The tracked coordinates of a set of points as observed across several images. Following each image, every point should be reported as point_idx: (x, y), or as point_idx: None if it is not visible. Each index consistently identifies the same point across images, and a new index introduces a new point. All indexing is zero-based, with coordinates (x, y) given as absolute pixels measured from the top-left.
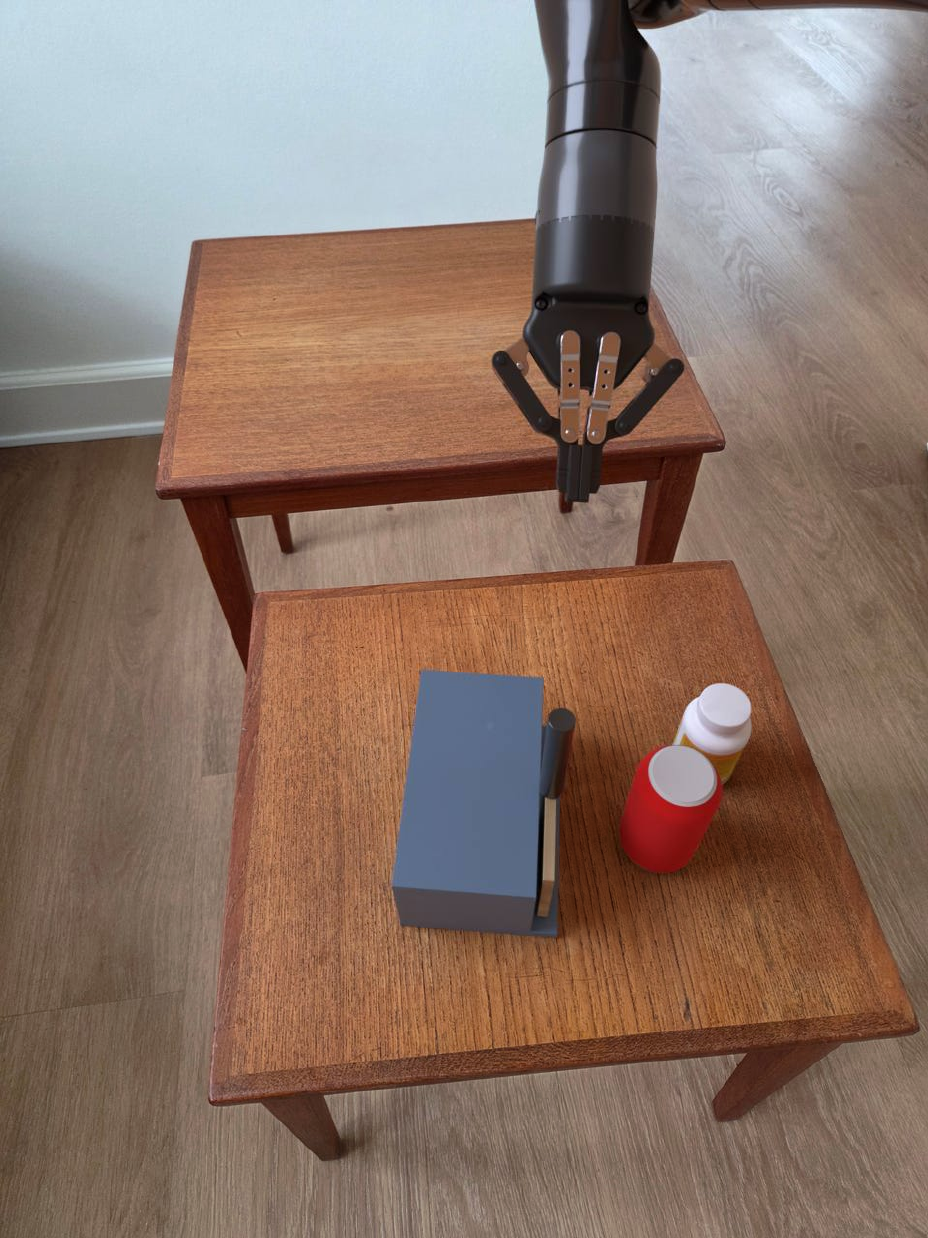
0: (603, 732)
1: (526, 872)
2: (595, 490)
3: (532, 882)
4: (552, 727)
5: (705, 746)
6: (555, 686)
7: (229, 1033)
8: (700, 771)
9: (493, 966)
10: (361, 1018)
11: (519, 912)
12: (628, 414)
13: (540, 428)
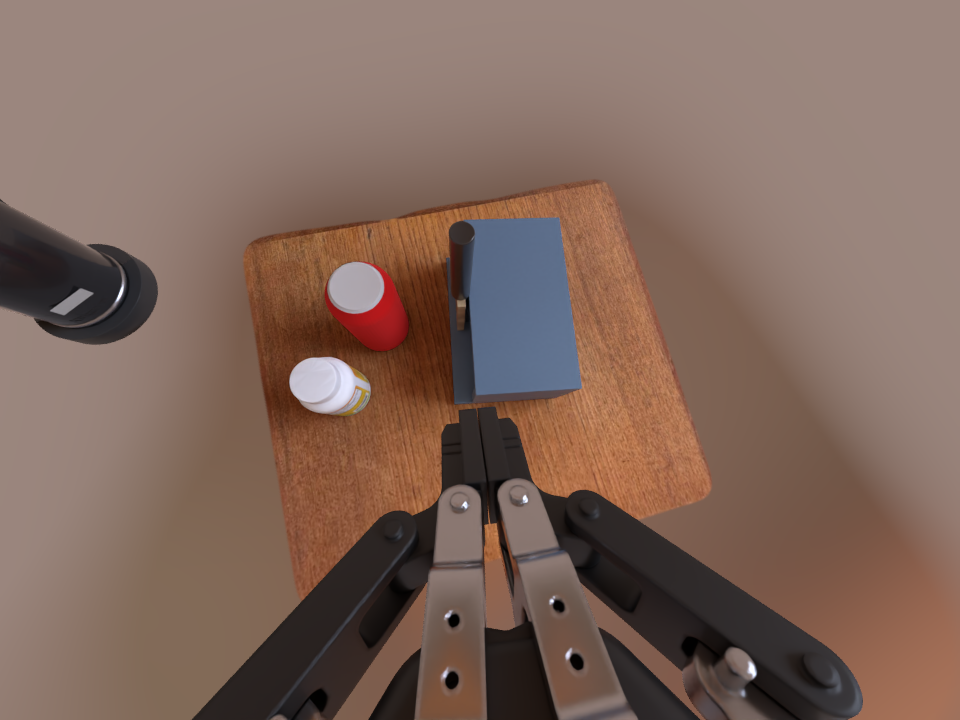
0: (421, 409)
1: None
2: (448, 427)
3: None
4: (470, 224)
5: (337, 359)
6: None
7: (614, 198)
8: (340, 289)
9: None
10: (548, 211)
11: None
12: (381, 560)
13: (588, 493)
